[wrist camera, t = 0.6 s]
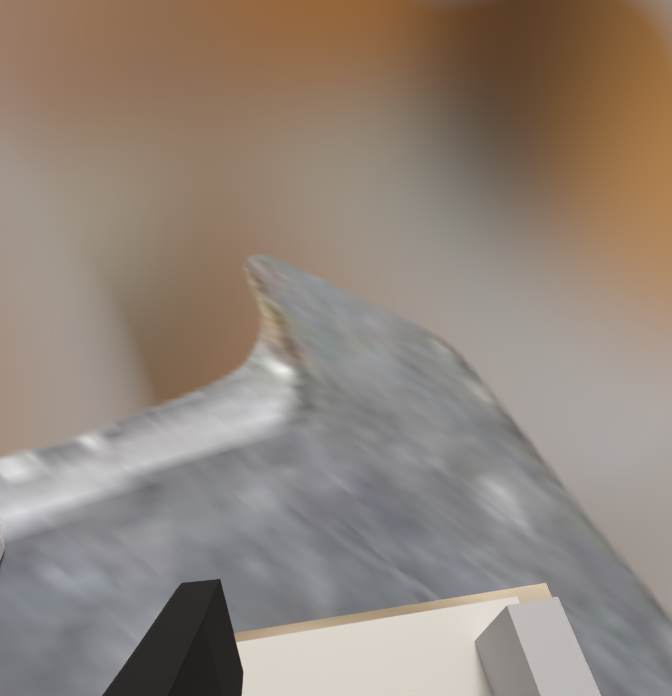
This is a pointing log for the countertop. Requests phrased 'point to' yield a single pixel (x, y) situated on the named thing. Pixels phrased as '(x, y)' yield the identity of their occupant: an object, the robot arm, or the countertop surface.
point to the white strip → (427, 655)
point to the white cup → (1, 541)
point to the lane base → (399, 611)
